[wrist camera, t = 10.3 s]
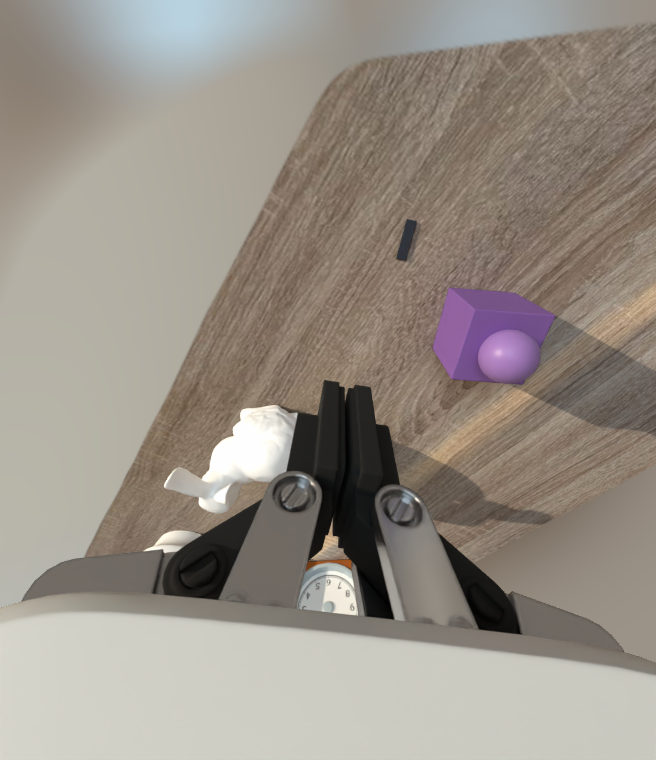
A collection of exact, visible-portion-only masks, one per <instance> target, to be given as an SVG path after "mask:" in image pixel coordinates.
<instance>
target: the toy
mask: <svg viewBox="0 0 656 760" xmlns="http://www.w3.org/2000/svg"><path fill="white" fill-rule="evenodd" d="M554 318H555V315H553V314H552V313H550V312H548V311H546V310H545V309H543V308H541V307H539V306H537V305H536V304H534V303H532V302H530V301H528V300H527V299H525V298H523V297H521V296H519V295H518V294H516V293H509V292H497V291H484V290H472V289H460V288H449V290H448V294H447V297H446V301H445V304H444V308H443V312H442V315H441V319H440V323H439V326H438V330H437V334H436V337H435V341H434V344H433V350H434V352H435V353H436V355H437V357H438V358H439V360H440V361H441V363H442V365H443V366H444V368H445V370H446V371H447V373H448V374H449V376H450V378H451V379H454V380H467V381H480V382H493V383H504V384H519V385H523V383H524V381H525V379H527V378H528V377H530V376H531V375H532V374H533V373H534V372H535V370H536V369H537V367H538V365H539V362H540V357H541V355H540V348H541V345H542V343H543V341H544V339H545V337H546V335H547V333H548V331H549V329H550V327H551V324H552V322H553V320H554Z"/></svg>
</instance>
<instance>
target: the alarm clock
mask: <svg viewBox="0 0 656 760" xmlns="http://www.w3.org/2000/svg"><path fill="white" fill-rule="evenodd" d="M351 562H352V561H351V560H350V559H347V560H329V561H312V562H307V567H306V571H305V575H304V579H303V583H302V588H301V592H300V596H299V600H298V604H297V609H304V610H313V611H322V612H330V613H339V614H348V615H357V616H359V614H358V608H357V602H356V596H355V590H354V584H353V577H352V571H351Z"/></svg>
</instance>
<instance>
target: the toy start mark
mask: <svg viewBox="0 0 656 760" xmlns="http://www.w3.org/2000/svg"><path fill="white" fill-rule="evenodd" d="M416 222H417V221H413V220H408V219H407V221H406V224H405V228H404V232H403V236H402V239H401V243H400V247H399V250H398V254H397V258H396V259H401V260H406V257H407V254H408V250H409V247H410V243H411V240H412V236H413V233H414V229H415V226H416Z"/></svg>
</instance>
